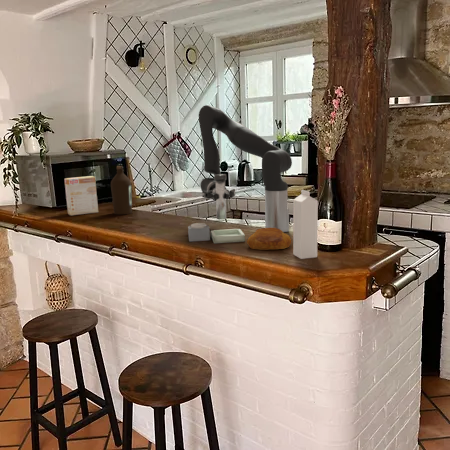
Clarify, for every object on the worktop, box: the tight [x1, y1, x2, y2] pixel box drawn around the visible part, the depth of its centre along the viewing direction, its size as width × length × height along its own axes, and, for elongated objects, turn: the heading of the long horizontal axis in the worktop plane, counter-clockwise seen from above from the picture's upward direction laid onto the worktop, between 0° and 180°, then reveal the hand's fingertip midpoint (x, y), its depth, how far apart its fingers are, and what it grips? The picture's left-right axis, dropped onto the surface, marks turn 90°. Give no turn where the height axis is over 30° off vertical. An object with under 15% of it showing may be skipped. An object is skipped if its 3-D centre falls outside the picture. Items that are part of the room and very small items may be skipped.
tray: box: [209, 228, 246, 244], centre depth 183 cm, size 12×12×2 cm
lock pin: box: [213, 173, 227, 220], centre depth 180 cm, size 5×5×17 cm
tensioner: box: [187, 222, 211, 242], centre depth 187 cm, size 8×14×6 cm, turn 8°
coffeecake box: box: [64, 175, 99, 216], centre depth 251 cm, size 15×7×20 cm, turn 121°
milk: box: [292, 189, 319, 260], centre depth 154 cm, size 6×6×22 cm
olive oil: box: [110, 165, 133, 216], centre depth 246 cm, size 11×11×25 cm
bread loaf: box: [246, 227, 292, 251], centre depth 169 cm, size 15×16×8 cm
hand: (221, 196), depth 177 cm, fingers closed on lock pin, 3 cm apart
